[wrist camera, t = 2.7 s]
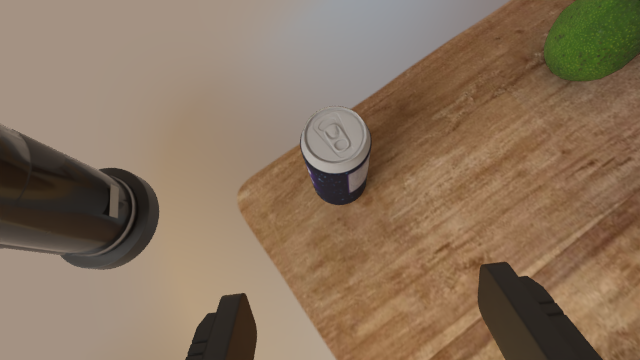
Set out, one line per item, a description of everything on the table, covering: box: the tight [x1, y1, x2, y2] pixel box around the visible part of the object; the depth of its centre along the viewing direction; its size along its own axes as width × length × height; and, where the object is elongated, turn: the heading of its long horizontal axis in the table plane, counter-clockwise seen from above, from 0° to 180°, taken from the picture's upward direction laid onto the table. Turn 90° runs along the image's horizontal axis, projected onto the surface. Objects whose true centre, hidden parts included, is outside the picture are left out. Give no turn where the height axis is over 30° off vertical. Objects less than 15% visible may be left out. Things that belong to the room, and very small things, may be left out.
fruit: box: [544, 0, 640, 81], centre depth 34 cm, size 8×8×12 cm
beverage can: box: [300, 106, 371, 205], centre depth 32 cm, size 6×6×12 cm
